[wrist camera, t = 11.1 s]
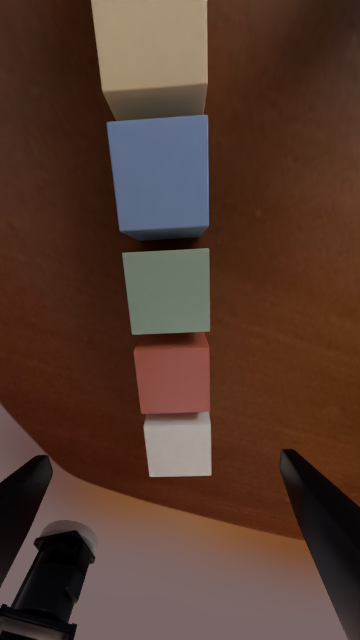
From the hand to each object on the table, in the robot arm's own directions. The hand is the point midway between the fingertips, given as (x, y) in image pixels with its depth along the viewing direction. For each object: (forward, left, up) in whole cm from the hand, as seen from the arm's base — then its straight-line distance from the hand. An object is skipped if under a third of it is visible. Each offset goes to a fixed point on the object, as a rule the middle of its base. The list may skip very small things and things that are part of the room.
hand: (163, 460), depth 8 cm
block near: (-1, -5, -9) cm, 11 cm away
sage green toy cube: (+2, +5, -9) cm, 11 cm away
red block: (0, 0, -9) cm, 9 cm away
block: (+4, +16, -9) cm, 19 cm away
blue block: (+3, +11, -9) cm, 15 cm away
